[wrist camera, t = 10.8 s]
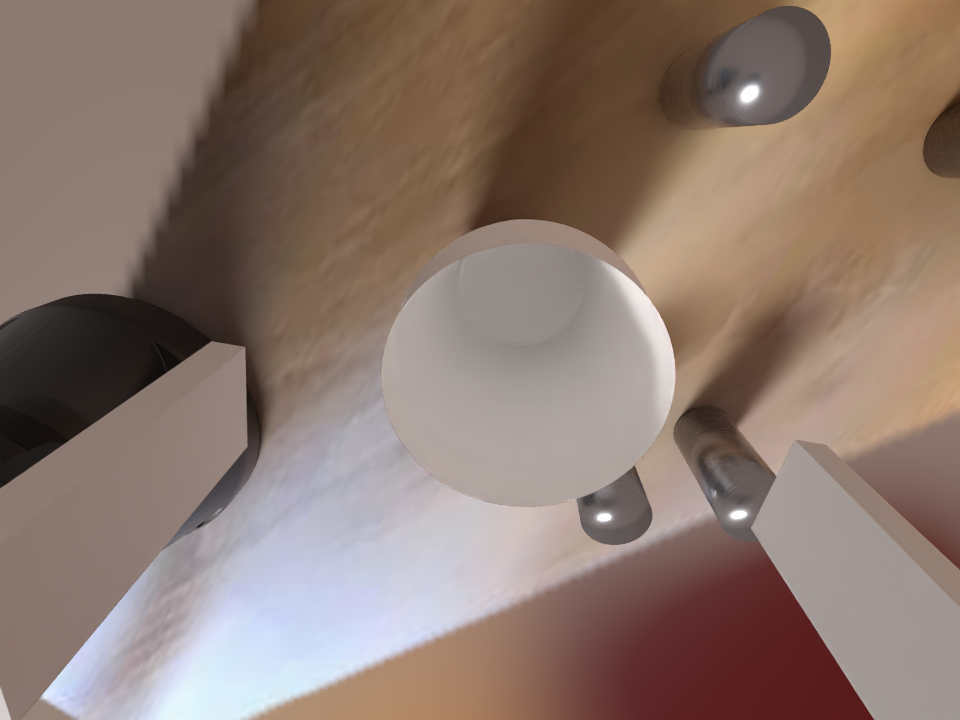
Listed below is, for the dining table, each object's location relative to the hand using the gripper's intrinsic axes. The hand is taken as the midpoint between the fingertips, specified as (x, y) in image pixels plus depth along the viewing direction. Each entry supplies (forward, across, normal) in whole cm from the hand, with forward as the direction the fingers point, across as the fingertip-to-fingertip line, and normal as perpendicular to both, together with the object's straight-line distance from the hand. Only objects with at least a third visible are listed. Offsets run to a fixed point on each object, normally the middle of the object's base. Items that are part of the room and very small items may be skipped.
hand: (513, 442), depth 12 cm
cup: (+15, +1, 0) cm, 15 cm away
